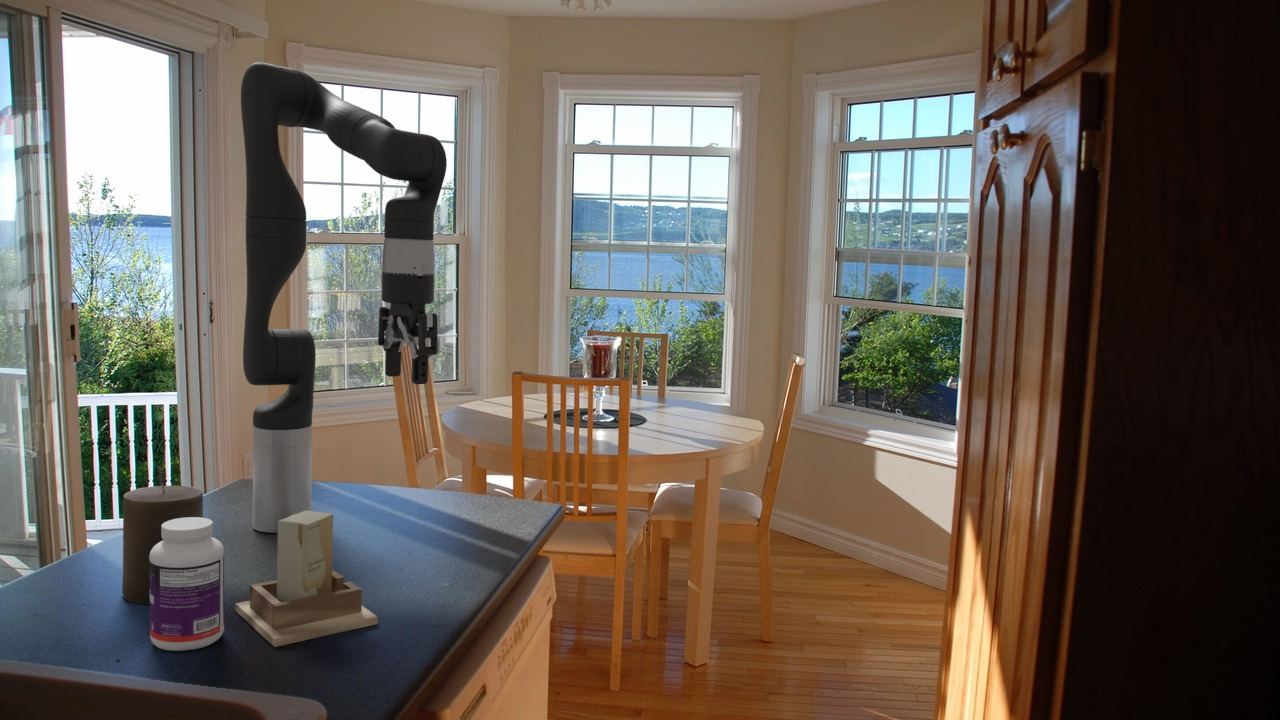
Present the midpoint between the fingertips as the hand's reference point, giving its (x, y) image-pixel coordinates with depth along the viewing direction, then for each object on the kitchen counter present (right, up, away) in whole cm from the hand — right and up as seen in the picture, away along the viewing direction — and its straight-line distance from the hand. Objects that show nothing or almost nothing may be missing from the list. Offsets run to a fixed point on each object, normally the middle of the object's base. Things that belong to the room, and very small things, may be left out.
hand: (406, 379), depth 144 cm
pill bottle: (-19, -31, -28) cm, 46 cm away
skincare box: (-8, -29, -20) cm, 36 cm away
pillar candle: (-30, -29, -13) cm, 43 cm away
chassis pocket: (-8, -30, -20) cm, 37 cm away
